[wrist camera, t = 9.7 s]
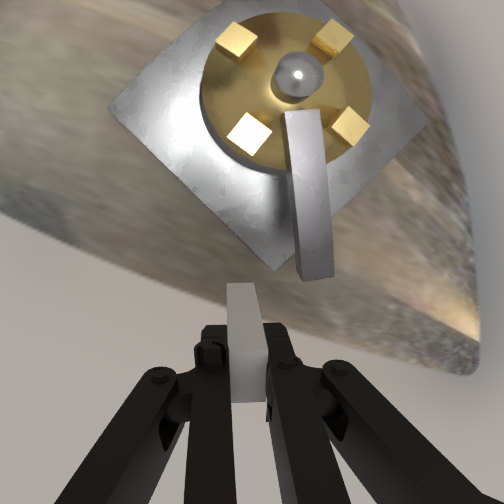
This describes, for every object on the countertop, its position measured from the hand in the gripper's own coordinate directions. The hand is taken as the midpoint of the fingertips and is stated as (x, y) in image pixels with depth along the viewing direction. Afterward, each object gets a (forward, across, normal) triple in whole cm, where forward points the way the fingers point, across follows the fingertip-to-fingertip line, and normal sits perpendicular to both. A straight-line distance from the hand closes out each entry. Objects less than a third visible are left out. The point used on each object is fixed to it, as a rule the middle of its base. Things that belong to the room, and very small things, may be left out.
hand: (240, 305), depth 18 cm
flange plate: (+11, +3, +13) cm, 17 cm away
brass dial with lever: (+6, +4, +10) cm, 12 cm away
